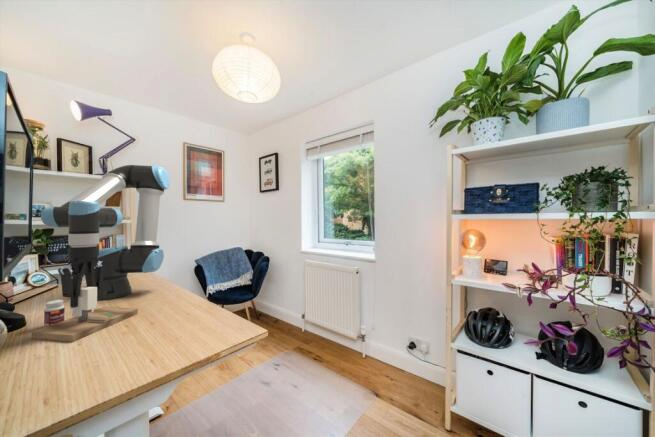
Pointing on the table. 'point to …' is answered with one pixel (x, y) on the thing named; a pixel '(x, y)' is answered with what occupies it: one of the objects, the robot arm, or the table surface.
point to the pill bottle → (54, 312)
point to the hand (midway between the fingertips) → (83, 313)
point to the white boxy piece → (88, 302)
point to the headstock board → (83, 324)
